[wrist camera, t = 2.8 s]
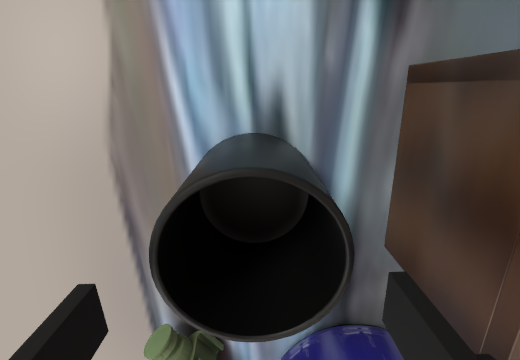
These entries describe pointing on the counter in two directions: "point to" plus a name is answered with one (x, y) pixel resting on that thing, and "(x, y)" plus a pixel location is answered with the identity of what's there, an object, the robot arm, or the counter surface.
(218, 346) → the knife
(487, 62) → the shelf
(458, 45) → the counter surface
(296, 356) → the dog bowl
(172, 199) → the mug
